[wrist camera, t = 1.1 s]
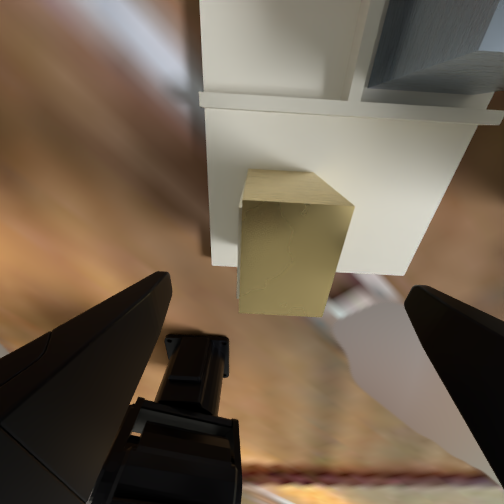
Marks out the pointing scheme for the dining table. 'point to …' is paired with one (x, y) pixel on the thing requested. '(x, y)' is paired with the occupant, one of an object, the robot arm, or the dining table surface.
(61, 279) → the dining table surface
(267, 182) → the ochre tin
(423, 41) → the slate tin
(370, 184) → the shelf board
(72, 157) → the dining table surface
